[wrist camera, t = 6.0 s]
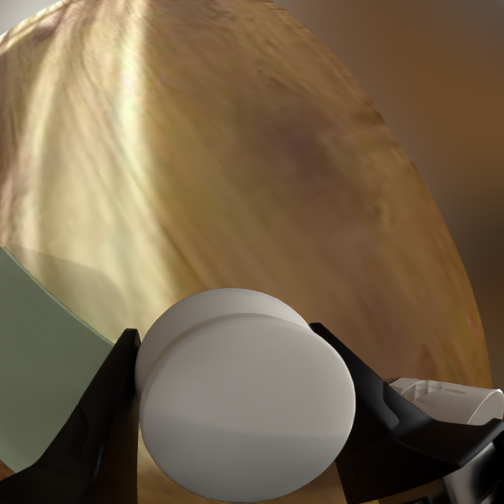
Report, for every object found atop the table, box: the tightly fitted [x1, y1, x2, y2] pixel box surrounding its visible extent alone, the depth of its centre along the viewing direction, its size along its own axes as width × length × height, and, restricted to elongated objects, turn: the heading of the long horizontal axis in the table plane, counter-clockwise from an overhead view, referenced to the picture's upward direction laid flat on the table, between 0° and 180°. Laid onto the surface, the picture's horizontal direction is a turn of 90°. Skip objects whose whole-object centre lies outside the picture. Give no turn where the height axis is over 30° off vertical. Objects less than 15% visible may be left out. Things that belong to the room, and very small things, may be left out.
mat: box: [0, 246, 114, 473], centre depth 13 cm, size 19×14×1 cm
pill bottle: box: [134, 288, 355, 503], centre depth 10 cm, size 6×6×11 cm
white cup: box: [389, 378, 504, 425], centre depth 14 cm, size 8×8×10 cm
